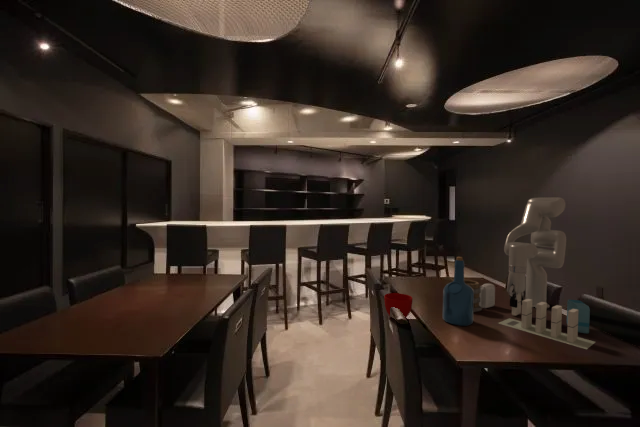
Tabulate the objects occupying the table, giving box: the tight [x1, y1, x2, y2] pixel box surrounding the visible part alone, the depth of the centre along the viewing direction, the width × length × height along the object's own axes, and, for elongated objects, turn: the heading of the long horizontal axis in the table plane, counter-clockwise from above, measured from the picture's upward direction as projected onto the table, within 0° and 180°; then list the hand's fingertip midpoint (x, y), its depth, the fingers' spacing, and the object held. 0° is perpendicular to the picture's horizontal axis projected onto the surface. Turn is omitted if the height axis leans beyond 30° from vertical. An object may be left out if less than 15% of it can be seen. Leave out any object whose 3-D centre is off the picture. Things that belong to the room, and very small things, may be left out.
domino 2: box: [520, 298, 533, 329], centre depth 140 cm, size 6×2×12 cm, turn 126°
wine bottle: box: [441, 256, 475, 327], centre depth 146 cm, size 14×13×30 cm
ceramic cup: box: [383, 292, 414, 318], centre depth 152 cm, size 13×17×10 cm
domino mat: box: [497, 318, 596, 350], centre depth 135 cm, size 12×32×1 cm, turn 36°
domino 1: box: [511, 291, 522, 316], centre depth 156 cm, size 6×2×12 cm, turn 126°
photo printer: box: [479, 283, 496, 309], centre depth 171 cm, size 10×4×12 cm, turn 123°
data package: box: [566, 298, 591, 335], centre depth 140 cm, size 12×4×12 cm, turn 158°
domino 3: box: [535, 302, 548, 333], centre depth 136 cm, size 6×2×12 cm, turn 126°
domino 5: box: [566, 309, 579, 343], centre depth 127 cm, size 6×2×12 cm, turn 126°
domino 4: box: [550, 304, 563, 338], centre depth 132 cm, size 6×2×12 cm, turn 126°
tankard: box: [443, 275, 483, 313], centre depth 170 cm, size 20×13×15 cm, turn 35°
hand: (516, 305), depth 156 cm, fingers closed on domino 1, 6 cm apart
